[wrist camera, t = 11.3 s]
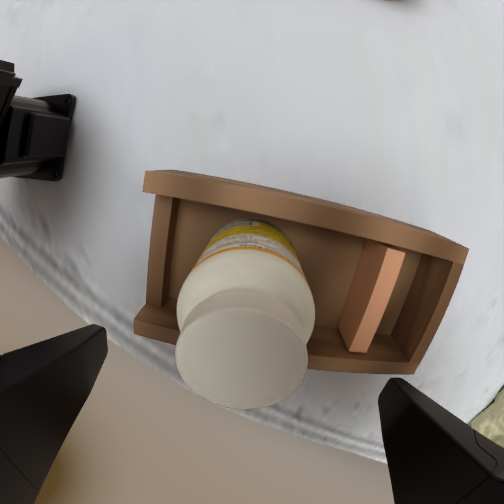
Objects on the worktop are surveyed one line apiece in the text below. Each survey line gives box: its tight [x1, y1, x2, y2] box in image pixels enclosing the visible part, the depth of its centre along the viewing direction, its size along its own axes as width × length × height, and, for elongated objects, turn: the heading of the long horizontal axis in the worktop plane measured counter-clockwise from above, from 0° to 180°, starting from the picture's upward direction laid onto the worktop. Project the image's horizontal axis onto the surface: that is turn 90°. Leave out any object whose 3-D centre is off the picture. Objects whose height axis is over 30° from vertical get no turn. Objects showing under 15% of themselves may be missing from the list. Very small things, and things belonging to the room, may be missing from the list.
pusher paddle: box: [337, 238, 405, 353], centre depth 16 cm, size 1×6×3 cm, turn 168°
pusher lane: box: [134, 170, 469, 374], centre depth 16 cm, size 18×9×4 cm, turn 78°
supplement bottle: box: [175, 218, 315, 409], centre depth 12 cm, size 5×5×10 cm
